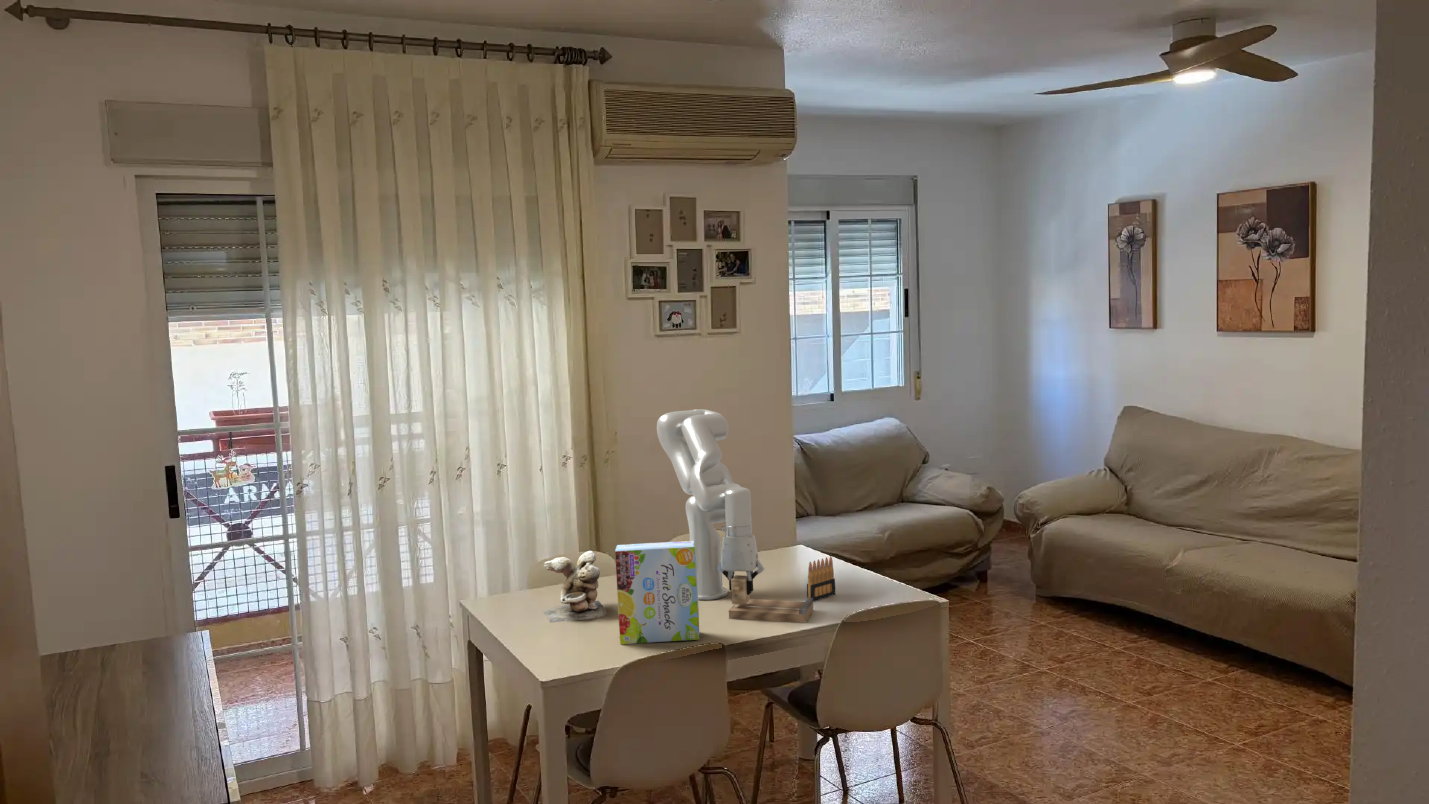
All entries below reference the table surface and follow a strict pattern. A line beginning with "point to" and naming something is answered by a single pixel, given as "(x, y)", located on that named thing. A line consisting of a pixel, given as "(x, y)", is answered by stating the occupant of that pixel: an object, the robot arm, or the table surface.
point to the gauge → (739, 589)
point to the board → (773, 610)
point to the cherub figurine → (576, 589)
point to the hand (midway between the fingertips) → (741, 592)
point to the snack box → (657, 592)
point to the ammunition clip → (821, 580)
